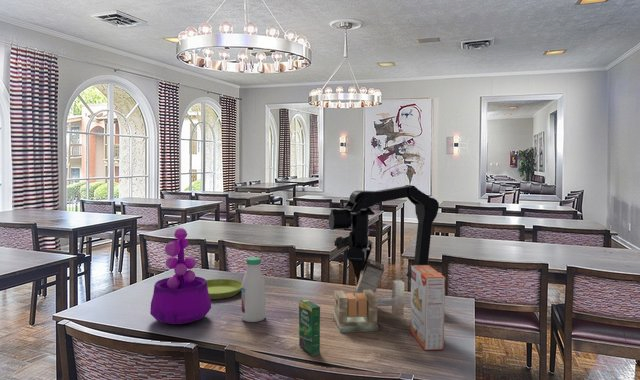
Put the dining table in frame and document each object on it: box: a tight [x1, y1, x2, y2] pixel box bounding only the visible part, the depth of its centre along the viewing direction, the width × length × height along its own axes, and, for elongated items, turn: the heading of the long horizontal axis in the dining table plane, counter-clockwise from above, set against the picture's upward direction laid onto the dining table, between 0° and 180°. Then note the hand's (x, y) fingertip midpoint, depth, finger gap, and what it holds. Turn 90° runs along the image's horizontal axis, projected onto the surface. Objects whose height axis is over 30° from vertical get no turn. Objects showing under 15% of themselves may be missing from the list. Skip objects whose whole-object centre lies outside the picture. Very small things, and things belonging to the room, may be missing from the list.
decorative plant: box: [149, 227, 212, 325], centre depth 144 cm, size 19×18×30 cm
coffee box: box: [353, 258, 385, 296], centre depth 158 cm, size 9×6×16 cm
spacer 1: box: [344, 292, 357, 317], centre depth 143 cm, size 2×6×6 cm, turn 9°
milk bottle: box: [241, 256, 266, 323], centre depth 147 cm, size 8×8×20 cm
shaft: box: [347, 279, 405, 316], centre depth 144 cm, size 20×3×10 cm, turn 99°
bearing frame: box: [332, 290, 380, 334], centre depth 143 cm, size 12×12×10 cm
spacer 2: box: [355, 293, 367, 317], centre depth 143 cm, size 2×6×6 cm, turn 9°
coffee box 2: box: [298, 299, 321, 357], centre depth 124 cm, size 8×3×13 cm, turn 28°
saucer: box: [205, 278, 242, 300], centre depth 175 cm, size 21×21×3 cm
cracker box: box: [409, 264, 446, 351], centre depth 131 cm, size 14×6×21 cm, turn 5°
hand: (359, 273), depth 153 cm, fingers open, 9 cm apart
